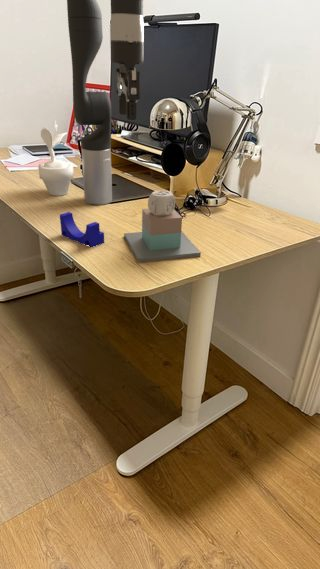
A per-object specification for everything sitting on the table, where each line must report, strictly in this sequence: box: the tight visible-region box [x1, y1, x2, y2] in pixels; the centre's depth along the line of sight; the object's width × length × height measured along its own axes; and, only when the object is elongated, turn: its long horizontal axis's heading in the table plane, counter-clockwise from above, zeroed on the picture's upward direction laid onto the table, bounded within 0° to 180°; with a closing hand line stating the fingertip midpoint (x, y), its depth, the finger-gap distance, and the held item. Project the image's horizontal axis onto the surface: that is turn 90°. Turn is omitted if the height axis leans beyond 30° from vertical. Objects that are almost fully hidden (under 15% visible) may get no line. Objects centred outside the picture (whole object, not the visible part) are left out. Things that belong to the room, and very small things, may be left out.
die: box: [147, 190, 176, 216], centre depth 98 cm, size 5×5×5 cm
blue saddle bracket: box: [59, 211, 105, 248], centre depth 105 cm, size 12×4×6 cm, turn 50°
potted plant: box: [37, 119, 74, 197], centre depth 134 cm, size 13×12×25 cm
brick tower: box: [123, 208, 202, 263], centre depth 102 cm, size 16×16×9 cm
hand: (127, 117), depth 97 cm, fingers open, 8 cm apart
